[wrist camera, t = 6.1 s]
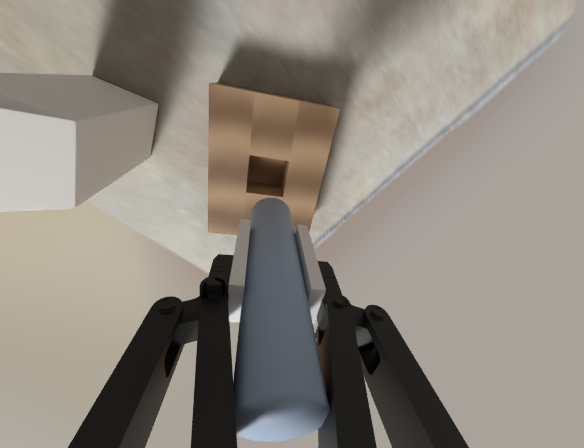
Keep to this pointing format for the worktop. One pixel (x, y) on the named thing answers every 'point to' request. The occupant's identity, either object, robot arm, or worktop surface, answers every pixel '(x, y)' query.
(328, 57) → the worktop surface
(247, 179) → the bore block
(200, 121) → the worktop surface
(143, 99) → the milk carton
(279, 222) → the pin
